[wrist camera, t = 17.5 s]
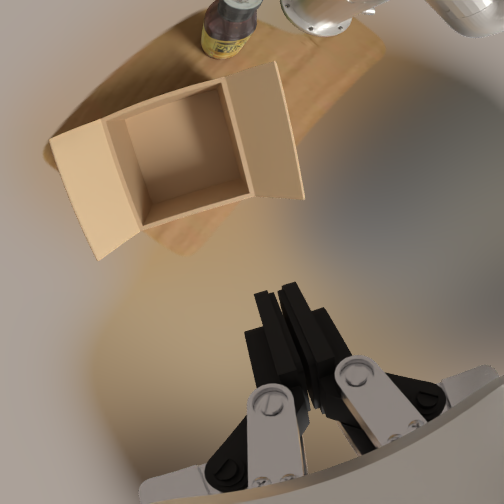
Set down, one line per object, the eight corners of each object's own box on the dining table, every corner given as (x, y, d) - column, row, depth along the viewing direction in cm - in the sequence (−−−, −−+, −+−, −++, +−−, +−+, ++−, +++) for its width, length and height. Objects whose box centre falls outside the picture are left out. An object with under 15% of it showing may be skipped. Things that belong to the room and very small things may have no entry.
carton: (219, 84, 38) (224, 76, 29) (244, 179, 46) (255, 196, 37) (121, 116, 37) (100, 118, 29) (151, 207, 45) (140, 231, 36)
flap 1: (140, 231, 36) (138, 231, 37) (100, 118, 29) (99, 119, 29) (98, 261, 31) (97, 260, 32) (49, 139, 24) (48, 139, 24)
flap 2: (224, 76, 29) (227, 76, 30) (255, 196, 37) (257, 195, 37) (273, 61, 24) (276, 61, 25) (303, 200, 32) (305, 198, 32)
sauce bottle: (213, 67, 37) (222, 33, 19) (193, 38, 34) (189, -13, 16) (250, 49, 36) (286, 7, 19) (230, 19, 33) (252, -37, 16)
